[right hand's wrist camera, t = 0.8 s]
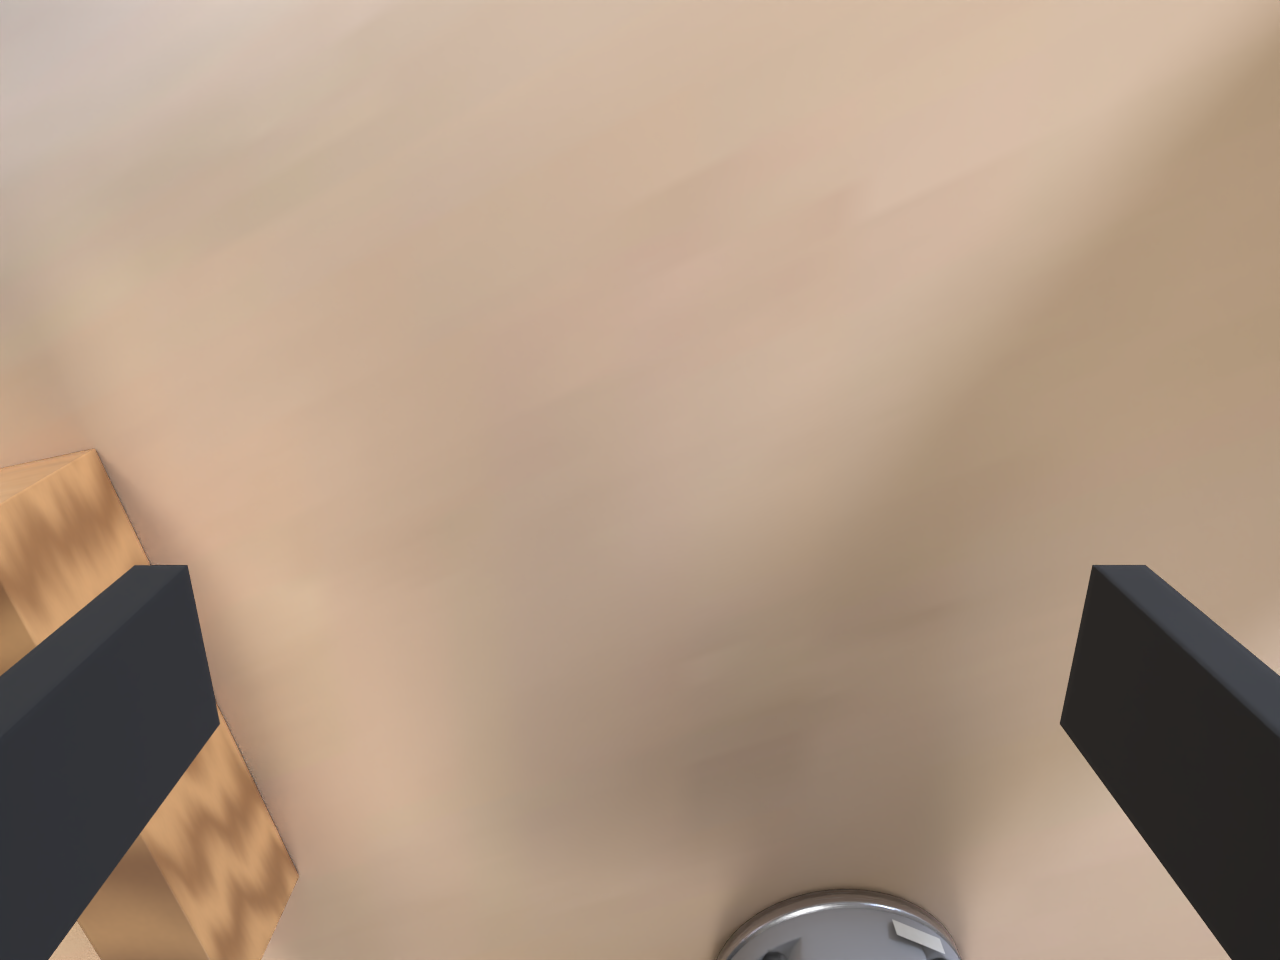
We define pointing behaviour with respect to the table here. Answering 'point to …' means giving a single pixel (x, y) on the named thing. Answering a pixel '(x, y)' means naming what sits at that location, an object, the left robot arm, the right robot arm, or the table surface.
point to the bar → (208, 790)
